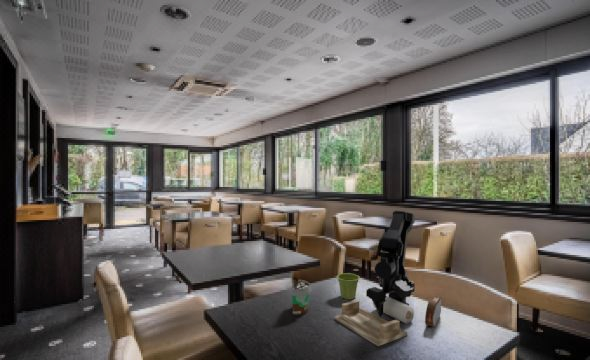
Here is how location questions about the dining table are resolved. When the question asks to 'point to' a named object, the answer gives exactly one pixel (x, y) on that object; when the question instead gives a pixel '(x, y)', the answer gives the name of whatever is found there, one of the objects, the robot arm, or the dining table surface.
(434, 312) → the tin
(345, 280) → the plant pot
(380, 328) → the holder
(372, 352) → the dining table surface
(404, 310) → the paper roll
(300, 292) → the food container
